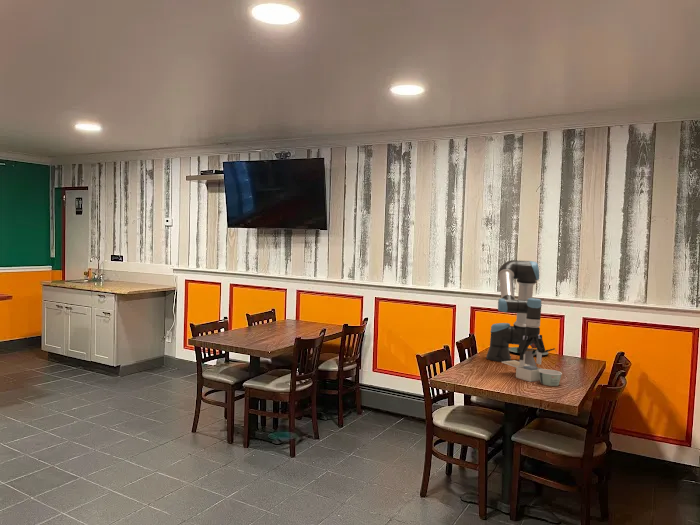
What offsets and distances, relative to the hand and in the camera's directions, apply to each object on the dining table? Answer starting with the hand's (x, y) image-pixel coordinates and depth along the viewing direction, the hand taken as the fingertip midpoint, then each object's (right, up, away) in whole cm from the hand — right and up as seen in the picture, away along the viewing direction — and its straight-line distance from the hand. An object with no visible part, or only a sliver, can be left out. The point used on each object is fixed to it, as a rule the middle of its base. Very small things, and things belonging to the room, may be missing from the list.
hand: (530, 364), depth 302 cm
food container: (+7, -9, -9) cm, 14 cm away
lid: (-6, -1, +9) cm, 10 cm away
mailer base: (0, -8, 0) cm, 8 cm away
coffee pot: (+9, -8, +19) cm, 23 cm away
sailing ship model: (+24, -7, +79) cm, 83 cm away
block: (0, -7, 0) cm, 7 cm away
